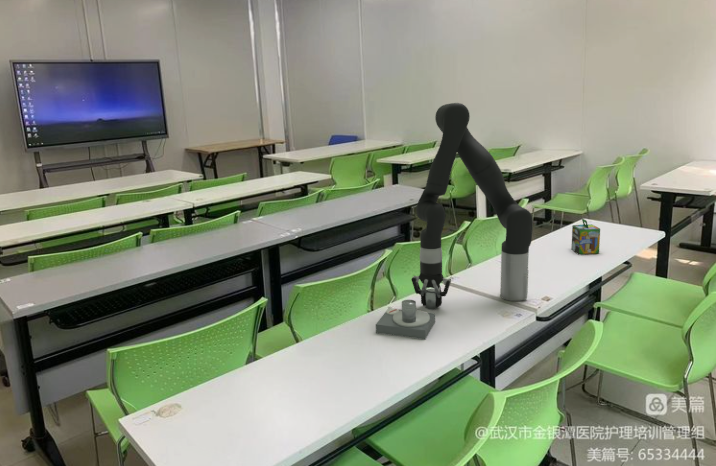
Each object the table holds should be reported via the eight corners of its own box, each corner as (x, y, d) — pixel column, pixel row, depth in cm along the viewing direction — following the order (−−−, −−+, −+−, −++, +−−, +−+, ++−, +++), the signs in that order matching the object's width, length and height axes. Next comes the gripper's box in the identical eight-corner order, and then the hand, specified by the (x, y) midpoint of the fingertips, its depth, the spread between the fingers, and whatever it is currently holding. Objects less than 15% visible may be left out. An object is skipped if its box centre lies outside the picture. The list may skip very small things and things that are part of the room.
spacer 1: (417, 318, 167) (417, 300, 165) (414, 323, 163) (413, 305, 162) (404, 316, 169) (403, 298, 167) (400, 322, 165) (399, 304, 163)
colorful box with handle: (599, 254, 233) (601, 221, 229) (578, 255, 233) (580, 222, 229) (590, 248, 242) (593, 216, 238) (570, 248, 242) (572, 217, 238)
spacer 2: (438, 305, 186) (438, 289, 185) (437, 309, 182) (437, 293, 181) (425, 304, 187) (425, 288, 186) (424, 309, 183) (424, 293, 182)
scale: (435, 321, 173) (435, 310, 172) (425, 339, 161) (425, 327, 160) (388, 316, 179) (388, 305, 178) (376, 333, 167) (375, 321, 166)
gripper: (454, 257, 181) (453, 303, 185) (413, 254, 186) (414, 299, 191) (449, 264, 174) (449, 312, 179) (407, 261, 179) (408, 307, 184)
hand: (431, 305), depth 185 cm, fingers closed on spacer 2, 4 cm apart
